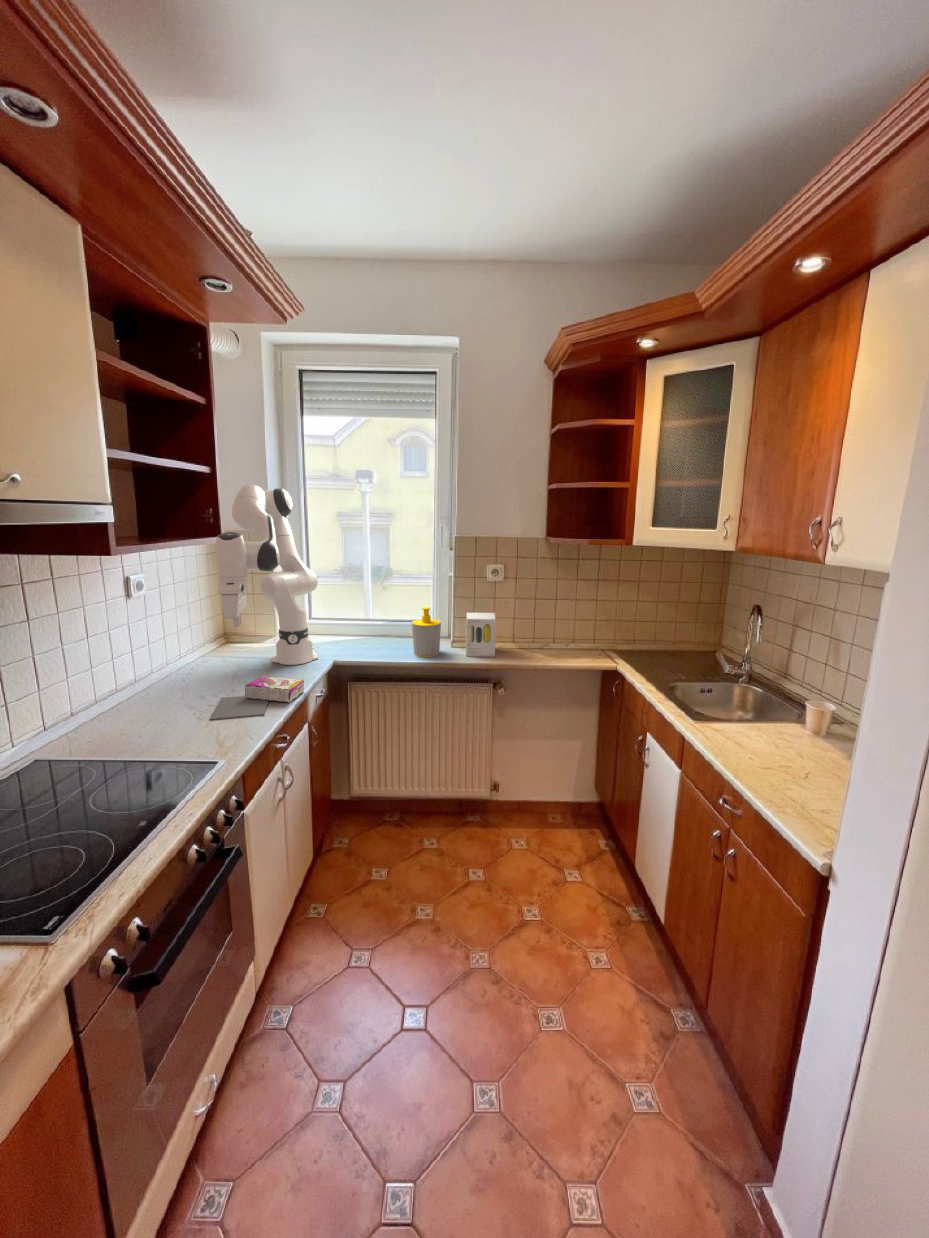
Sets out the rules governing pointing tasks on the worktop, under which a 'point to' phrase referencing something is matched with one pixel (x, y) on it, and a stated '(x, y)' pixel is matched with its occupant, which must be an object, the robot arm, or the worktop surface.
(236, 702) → the mat
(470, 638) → the supplement box
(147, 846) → the worktop surface
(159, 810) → the worktop surface
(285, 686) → the candy bar box
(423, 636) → the soap bottle
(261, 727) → the worktop surface
